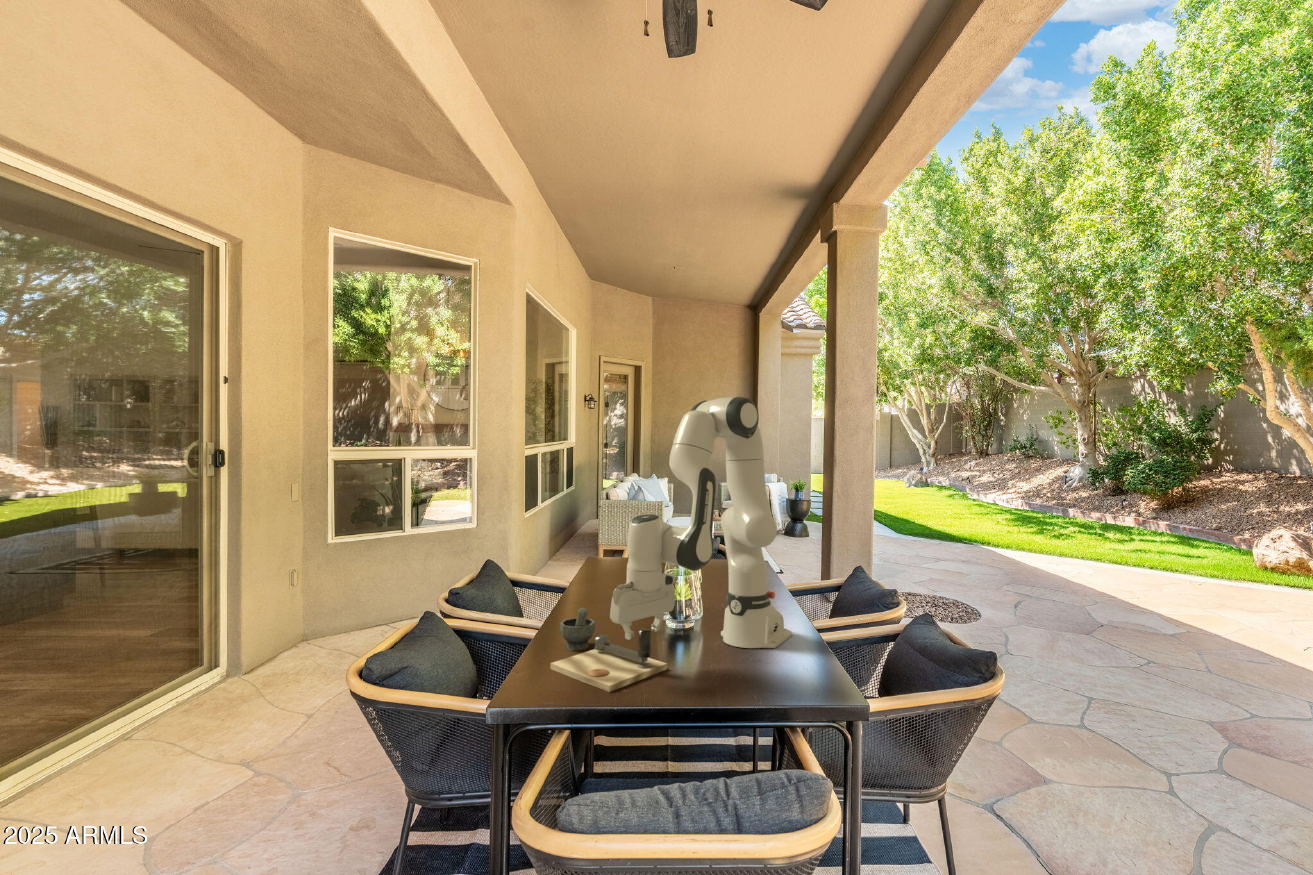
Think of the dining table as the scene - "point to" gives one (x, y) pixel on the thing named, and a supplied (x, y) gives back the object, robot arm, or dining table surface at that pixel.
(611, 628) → the dining table surface
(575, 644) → the mortar and pestle
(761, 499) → the robot arm
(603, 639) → the lever
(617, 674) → the lever board
